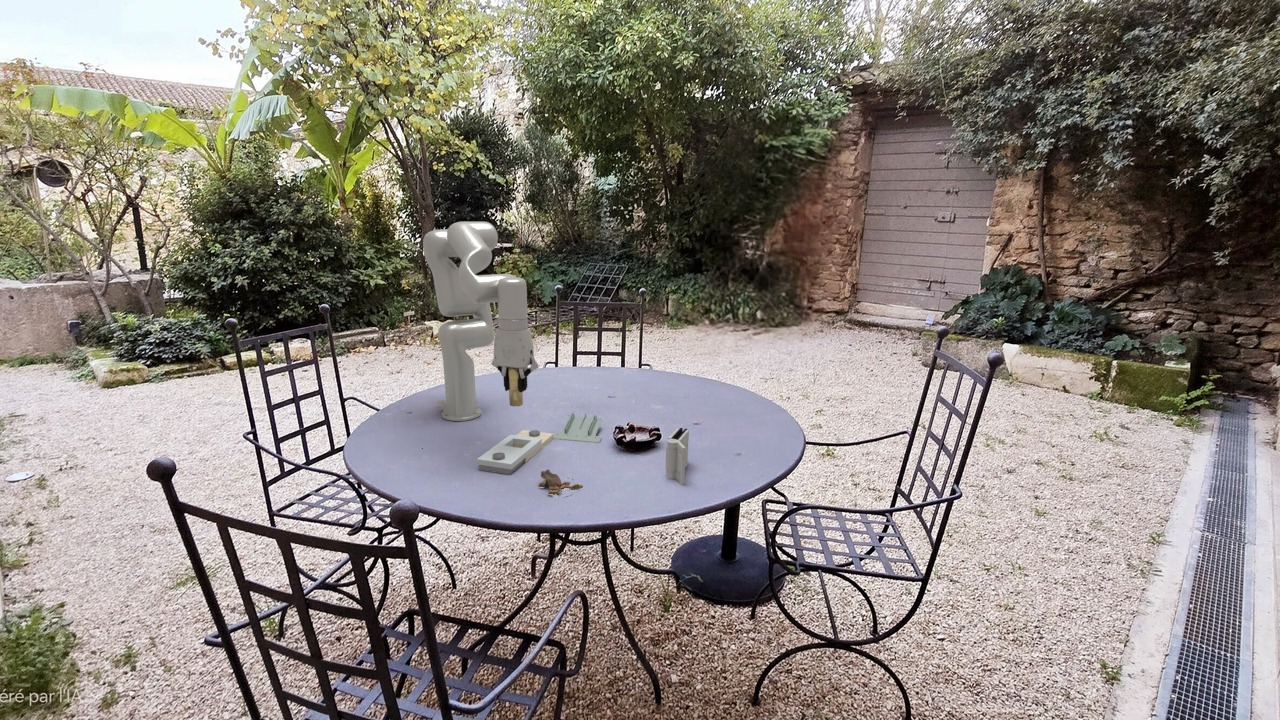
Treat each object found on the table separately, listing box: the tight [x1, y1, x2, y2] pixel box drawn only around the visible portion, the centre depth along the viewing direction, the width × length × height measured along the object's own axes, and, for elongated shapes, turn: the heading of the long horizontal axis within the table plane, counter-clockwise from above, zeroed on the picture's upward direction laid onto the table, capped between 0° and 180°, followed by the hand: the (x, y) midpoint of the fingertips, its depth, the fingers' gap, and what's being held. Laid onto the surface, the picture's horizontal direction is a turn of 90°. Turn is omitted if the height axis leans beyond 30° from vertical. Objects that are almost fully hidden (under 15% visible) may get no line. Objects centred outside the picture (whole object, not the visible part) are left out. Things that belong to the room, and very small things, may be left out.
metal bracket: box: [552, 412, 603, 444], centre depth 180 cm, size 14×6×15 cm
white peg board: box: [476, 429, 554, 475], centre depth 165 cm, size 26×10×4 cm, turn 164°
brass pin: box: [508, 367, 524, 407], centre depth 160 cm, size 4×4×12 cm
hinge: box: [665, 427, 690, 486], centre depth 154 cm, size 14×5×10 cm, turn 172°
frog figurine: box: [537, 469, 584, 495], centre depth 145 cm, size 12×12×4 cm
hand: (515, 389), depth 161 cm, fingers closed on brass pin, 3 cm apart
